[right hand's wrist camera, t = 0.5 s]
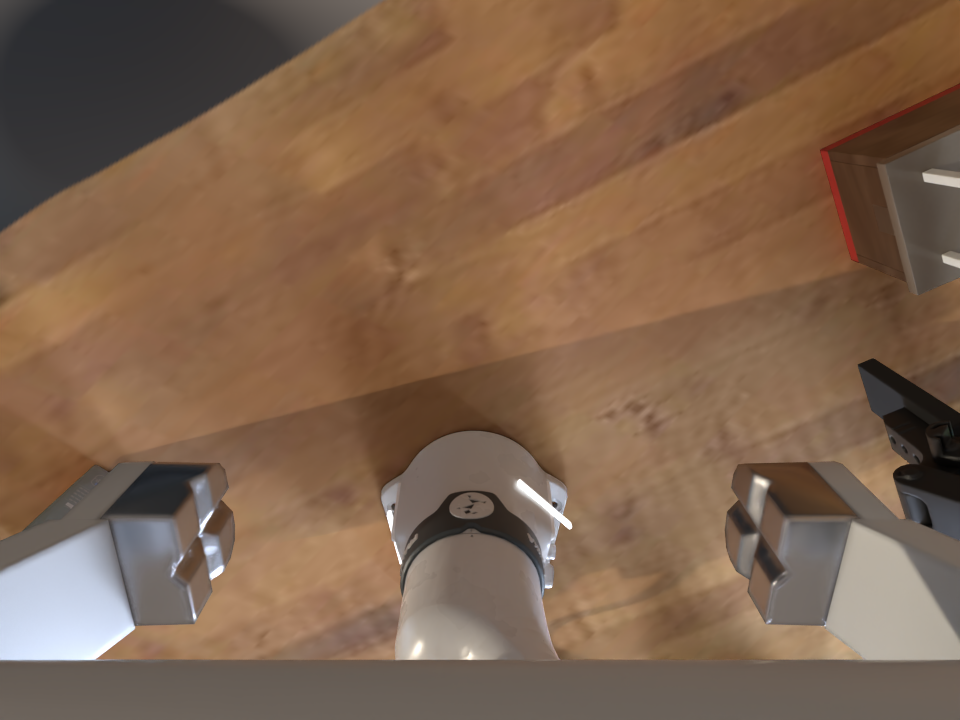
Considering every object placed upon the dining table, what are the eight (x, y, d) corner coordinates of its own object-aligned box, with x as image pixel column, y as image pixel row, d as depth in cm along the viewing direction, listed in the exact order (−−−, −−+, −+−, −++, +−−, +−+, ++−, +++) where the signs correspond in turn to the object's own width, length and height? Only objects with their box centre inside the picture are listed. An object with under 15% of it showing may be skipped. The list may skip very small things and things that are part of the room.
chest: (851, 259, 57) (918, 287, 48) (819, 149, 53) (885, 158, 45) (1008, 190, 54) (1108, 206, 46) (985, 71, 51) (1089, 64, 42)
